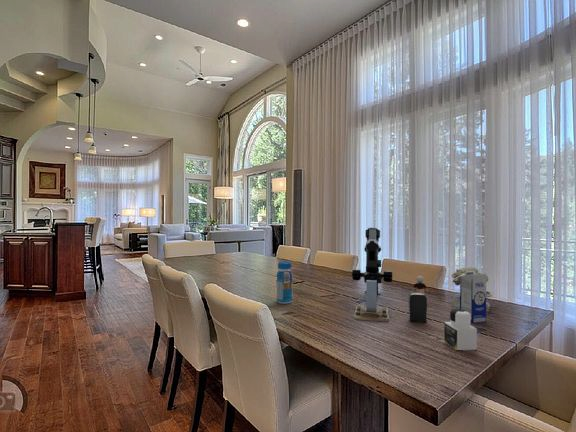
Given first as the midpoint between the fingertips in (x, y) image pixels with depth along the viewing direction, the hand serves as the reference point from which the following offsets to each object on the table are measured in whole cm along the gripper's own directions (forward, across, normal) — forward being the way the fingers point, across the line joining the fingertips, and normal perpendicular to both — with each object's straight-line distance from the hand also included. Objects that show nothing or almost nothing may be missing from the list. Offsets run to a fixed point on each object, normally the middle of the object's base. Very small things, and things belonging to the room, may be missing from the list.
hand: (371, 290), depth 146 cm
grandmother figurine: (-8, +23, +20) cm, 32 cm away
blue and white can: (+6, -43, +7) cm, 44 cm away
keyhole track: (+12, 0, 0) cm, 12 cm away
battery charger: (+14, +18, -2) cm, 23 cm away
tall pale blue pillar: (+9, 0, +1) cm, 9 cm away
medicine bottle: (+30, +29, -18) cm, 46 cm away
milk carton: (+9, +41, +3) cm, 42 cm away
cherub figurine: (-8, +46, +20) cm, 51 cm away
